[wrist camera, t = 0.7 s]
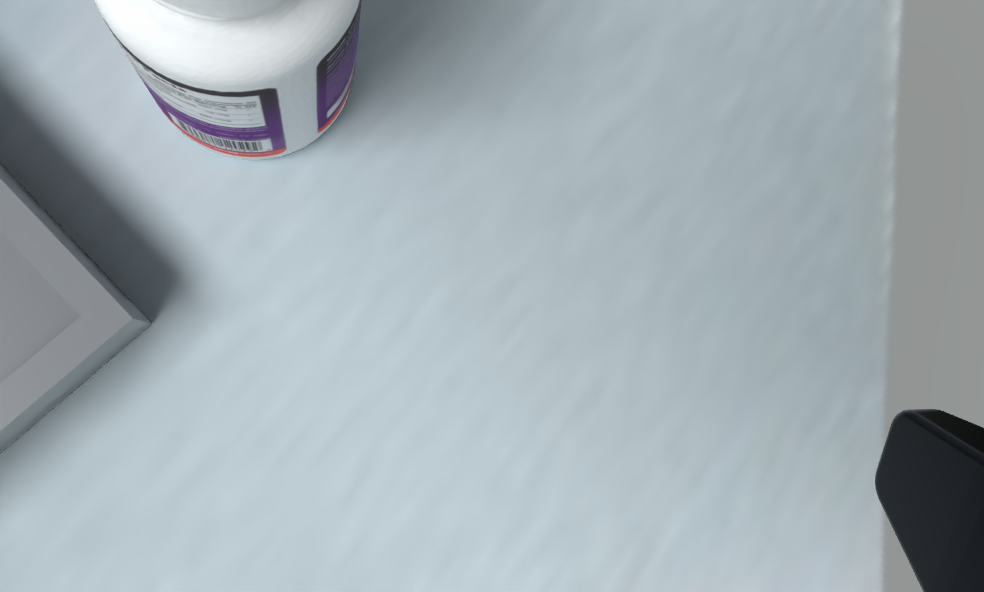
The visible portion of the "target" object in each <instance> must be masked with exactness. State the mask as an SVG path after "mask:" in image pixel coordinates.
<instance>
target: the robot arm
mask: <svg viewBox="0 0 984 592" xmlns="http://www.w3.org/2000/svg"><path fill="white" fill-rule="evenodd" d="M875 485H876V491H877V495H878V498H879V500H880V502H881V504H882V507H883V509H884V511H885V513H886V515H887V517H888V519H889V521H890V523H891V525H892V527H893V529H894V531H895V533H896V536H897V538H898V540H899V542H900V544H901V546H902V548H903V550H904V552H905V554H906V556H907V558H908V560H909V562H910V564H911V567H912V569H913V571H914V573H915V575H916V577H917V579H918V581H919V583H920V585H921V587H922V589H923V591H924V592H984V428H982V427H980V426H978V425H975V424H973V423H970V422H968V421H966V420H963V419H961V418H958V417H956V416H953V415H951V414H949V413H946V412H944V411H941V410H935V409H924V410H923V409H921V410H904V411H902V412H900V413H899V414H897V415H896V417H895V418H894V419H893V422H892V424H891V427H890V430H889V433H888V436H887V439H886V443H885V446H884V449H883V452H882V455H881V458H880V461H879V465H878V468H877V471H876V477H875Z"/></svg>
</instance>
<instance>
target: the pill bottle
mask: <svg viewBox="0 0 984 592" xmlns="http://www.w3.org/2000/svg"><path fill="white" fill-rule="evenodd" d="M94 1H95V3H96V5H97V7H98V9H99V11H100V13H101V15H102V17H103V19H104V20H105V22H106V24H107V26H108V27H109V29H110V31H111V32H112V34H113V35H114V37H115V38H116V40H117V41H118V43H119V44H120V46H121V48H122V49H123V51H124V52H125V54H126V56H127V57H128V59H129V60H130V62H131V64H132V65H133V66H134V68H135V70H136V71H137V73H138V74H139V76H140V78H141V79H142V81H143V82H144V84H145V85H146V87H147V88H148V90H149V92H150V93H151V95H152V96H153V98H154V99H155V101H156V103H157V104H158V106H159V107H160V108H161V110H162V111H163V112H164V114H165V115H166V116H167V117H168V118H169V120H170V121H171V122H172V123H173V124H174V125H175V126H176V127H177V128H178V129H179V130H180V131H181V132H182V133H183V134H184V135H186V136H187V137H188V138H190V139H191V140H192V141H194V142H196V143H197V144H199V145H201V146H202V147H204V148H206V149H208V150H211V151H213V152H215V153H218V154H221V155H224V156H227V157H232V158H238V159H246V160H262V159H271V158H276V157H280V156H284V155H287V154H290V153H293V152H295V151H298V150H300V149H302V148H304V147H305V146H307V145H309V144H310V143H312V142H313V141H315V140H316V139H317V138H318V137H320V136H321V135H322V134H323V133H324V132H325V131H326V130H327V129H328V128H329V127H330V126H331V125H332V123H333V122H334V121H335V120H336V118H337V117H338V115H339V114H340V112H341V111H342V109H343V107H344V105H345V103H346V100H347V98H348V95H349V92H350V88H351V85H352V80H353V75H354V69H355V59H356V47H357V38H358V29H359V18H360V9H361V0H94Z"/></svg>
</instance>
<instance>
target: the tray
mask: <svg viewBox="0 0 984 592" xmlns="http://www.w3.org/2000/svg"><path fill="white" fill-rule="evenodd" d="M151 324H152V323H151V322H150V321H149V320H148V319H147V318H146V317H145V316H144V315H143V314H142V313H141V312H140V311H139V309H138V308H137V307H136V306H135V305H134V304H133V303H132V302H131V301H130V300H129V299H128V298H127V297H126V296H125V295H124V294H123V293H122V291H121V290H120V289H119V288H118V287H117V286H116V285H115V284H114V283H113V282H112V281H111V280H110V279H109V278H108V277H107V276H106V275H105V274H104V272H103V271H102V270H101V269H100V268H99V267H98V266H97V265H96V264H95V263H94V262H93V261H92V260H91V259H90V258H89V257H88V256H87V254H86V253H85V252H84V251H83V250H82V249H81V248H80V247H79V246H78V245H77V244H76V243H75V242H74V241H73V240H72V239H71V238H70V236H69V235H68V234H67V233H66V232H65V231H64V230H63V229H62V228H61V227H60V226H59V225H58V224H57V223H56V222H55V221H54V220H53V219H52V217H51V216H50V215H49V214H48V213H47V212H46V211H45V210H44V209H43V208H42V207H41V206H40V205H39V204H38V203H37V202H36V201H35V199H34V198H33V197H32V196H31V195H30V194H29V193H28V192H27V191H26V190H25V189H24V188H23V187H22V186H21V185H20V184H19V183H18V181H17V180H16V179H15V178H14V177H13V176H12V175H11V174H10V173H9V172H8V171H7V170H6V169H5V168H4V167H3V166H2V165H1V164H0V454H1V453H2V452H3V451H4V450H5V449H6V448H8V447H9V446H10V445H11V444H12V443H13V442H15V441H16V440H17V439H18V438H19V437H20V436H22V435H23V434H24V433H25V432H26V431H27V430H29V429H30V428H31V427H32V426H33V425H34V424H36V423H37V422H38V421H39V420H40V419H41V418H43V417H44V416H45V415H46V414H47V413H49V412H50V411H51V410H52V409H53V408H54V407H56V406H57V405H58V404H59V403H60V402H61V401H63V400H64V399H65V398H66V397H67V396H68V395H70V394H71V393H72V392H73V391H74V390H75V389H77V388H78V387H79V386H80V385H81V384H82V383H84V382H85V381H86V380H87V379H88V378H89V377H91V376H92V375H93V374H94V373H95V372H96V371H98V370H99V369H100V368H101V367H102V366H103V365H105V364H106V363H107V362H108V361H109V360H110V359H112V358H113V357H114V356H115V355H116V354H117V353H119V352H120V351H121V350H122V349H123V348H124V347H126V346H127V345H128V344H129V343H130V342H131V341H133V340H134V339H135V338H136V337H137V336H138V335H140V334H141V333H142V332H143V331H144V330H145V329H147V328H148V327H149V326H150V325H151Z"/></svg>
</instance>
